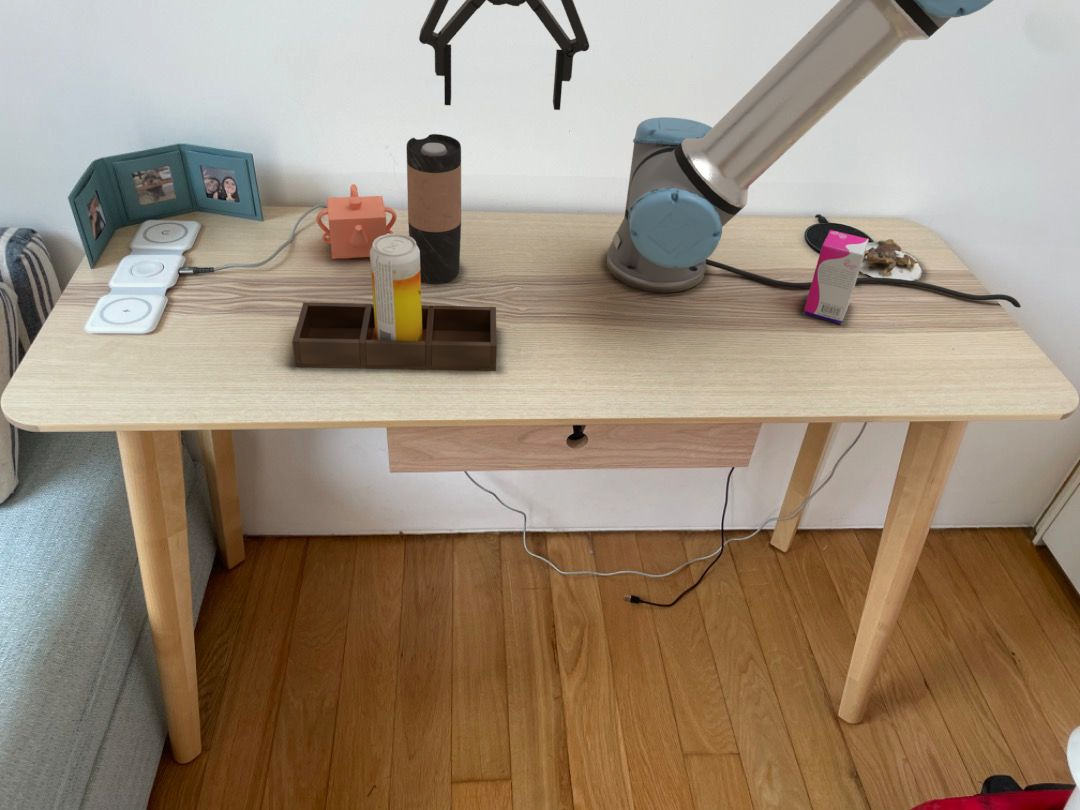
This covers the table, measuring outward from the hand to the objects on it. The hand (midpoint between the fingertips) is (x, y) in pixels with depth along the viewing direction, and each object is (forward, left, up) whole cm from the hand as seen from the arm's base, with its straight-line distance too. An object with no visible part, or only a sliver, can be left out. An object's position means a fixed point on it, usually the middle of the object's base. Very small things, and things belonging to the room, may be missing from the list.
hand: (502, 104), depth 113 cm
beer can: (+13, +13, -28) cm, 34 cm away
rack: (+13, +13, -29) cm, 34 cm away
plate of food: (-63, -13, -29) cm, 71 cm away
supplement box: (-49, +1, -29) cm, 57 cm away
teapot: (+21, -13, -29) cm, 38 cm away
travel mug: (+9, -7, -29) cm, 31 cm away
